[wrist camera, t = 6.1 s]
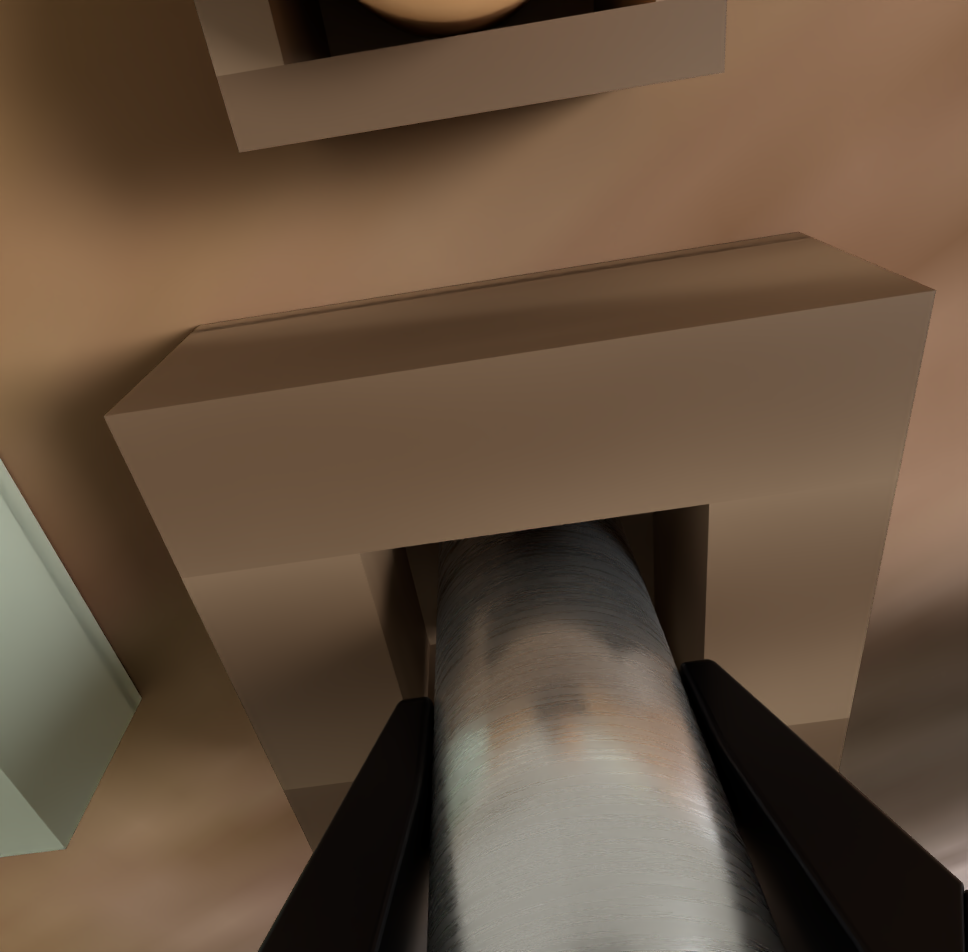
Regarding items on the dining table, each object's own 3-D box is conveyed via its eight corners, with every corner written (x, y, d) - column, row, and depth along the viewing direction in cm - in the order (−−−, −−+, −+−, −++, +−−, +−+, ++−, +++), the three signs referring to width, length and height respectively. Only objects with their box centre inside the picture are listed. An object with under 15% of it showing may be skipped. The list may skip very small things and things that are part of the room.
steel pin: (622, 594, 13) (895, 1413, 5) (455, 617, 13) (459, 1454, 5) (615, 446, 11) (1007, 1321, 3) (423, 474, 11) (355, 1385, 3)
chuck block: (758, 666, 14) (831, 806, 12) (346, 721, 15) (321, 869, 12) (799, 231, 10) (936, 289, 7) (199, 325, 10) (104, 415, 7)
